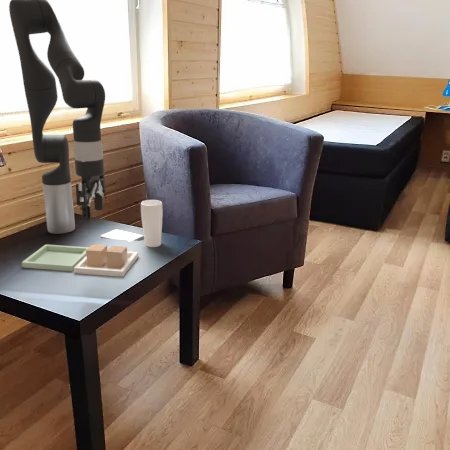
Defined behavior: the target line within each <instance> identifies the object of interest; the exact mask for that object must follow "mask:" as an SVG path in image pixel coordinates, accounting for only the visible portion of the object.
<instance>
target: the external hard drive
mask: <svg viewBox="0 0 450 450" xmlns="http://www.w3.org/2000/svg"><path fill="white" fill-rule="evenodd" d="M100 239H107V240H122V241H123V240H124V241H127V242H128V243H130V242H133V241H135V242H136V241H137V242H138V241H141V240H144V234H138V233H135V232H131V231H126V230H123V229H117V228H116V229H113V230H110V231H108V232H105V233H103V234H101V235H100Z"/></svg>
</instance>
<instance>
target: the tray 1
mask: <svg viewBox="0 0 450 450" xmlns="http://www.w3.org/2000/svg"><path fill="white" fill-rule="evenodd" d="M89 247H90V246H88V247H87V246H74V245H60V244H59V245H58V244H44V245H43V246H41V247H40V248H39V249H38V250H37V251H34V253H32V254H31V255H29V256H28V257H27V258H25V259H24V260H23V261H21V268H26V269H38V270H40V269H42V270H50V271H51V270H53V271H64V272H74V267H75V266H77V265H78V264H79V263H80V262H81V261H82V260H83V259H84V258H85V257H86V250H87V249H88V248H89Z"/></svg>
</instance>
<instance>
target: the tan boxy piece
mask: <svg viewBox="0 0 450 450" xmlns="http://www.w3.org/2000/svg"><path fill="white" fill-rule="evenodd" d="M88 247H89V248H88V249H87V250H86V256H87V266H90V267H103V266H104V265H105V264H106V263H107V254H106V251H107V250H108V245H105V244H91V245H90V246H88Z"/></svg>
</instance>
